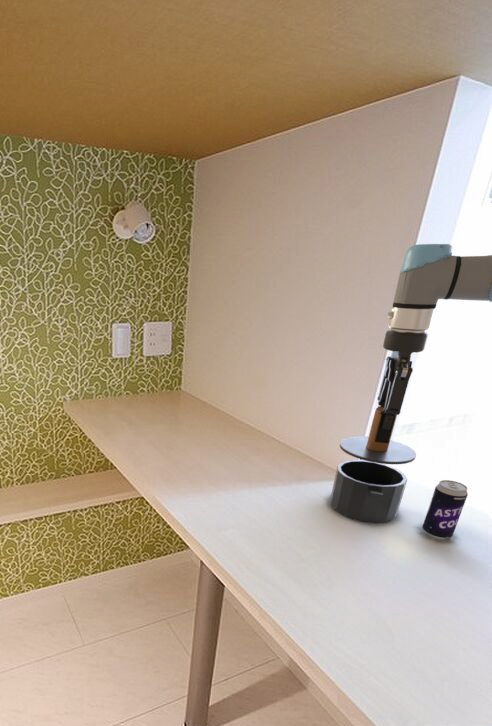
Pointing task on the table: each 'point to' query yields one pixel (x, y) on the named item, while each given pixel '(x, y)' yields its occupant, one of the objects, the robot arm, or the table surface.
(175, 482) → the table surface
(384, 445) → the tin lid
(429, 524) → the beverage can
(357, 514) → the tin
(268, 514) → the table surface
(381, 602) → the table surface
